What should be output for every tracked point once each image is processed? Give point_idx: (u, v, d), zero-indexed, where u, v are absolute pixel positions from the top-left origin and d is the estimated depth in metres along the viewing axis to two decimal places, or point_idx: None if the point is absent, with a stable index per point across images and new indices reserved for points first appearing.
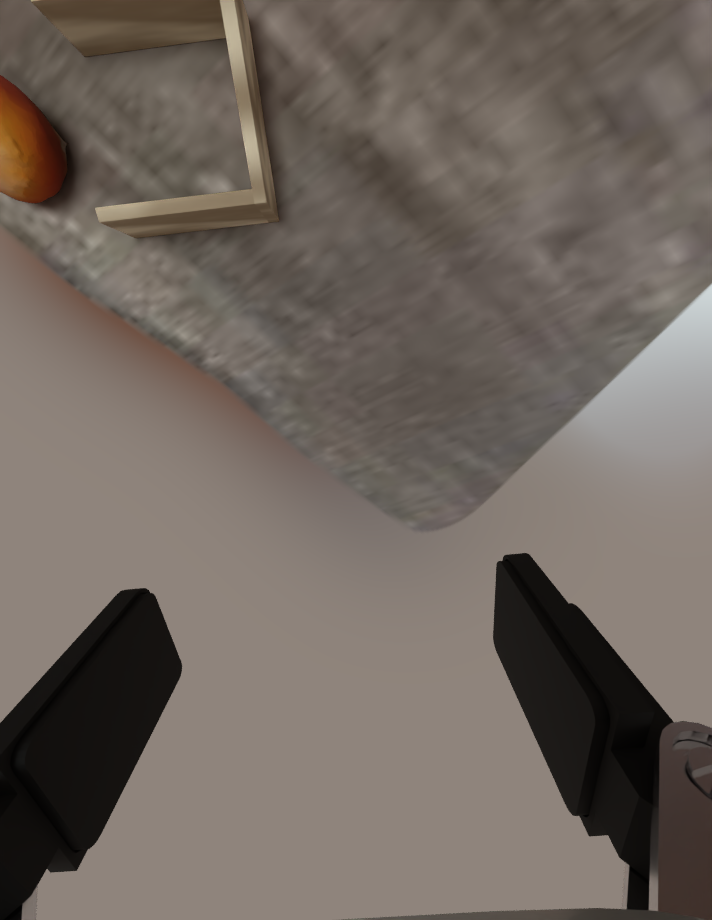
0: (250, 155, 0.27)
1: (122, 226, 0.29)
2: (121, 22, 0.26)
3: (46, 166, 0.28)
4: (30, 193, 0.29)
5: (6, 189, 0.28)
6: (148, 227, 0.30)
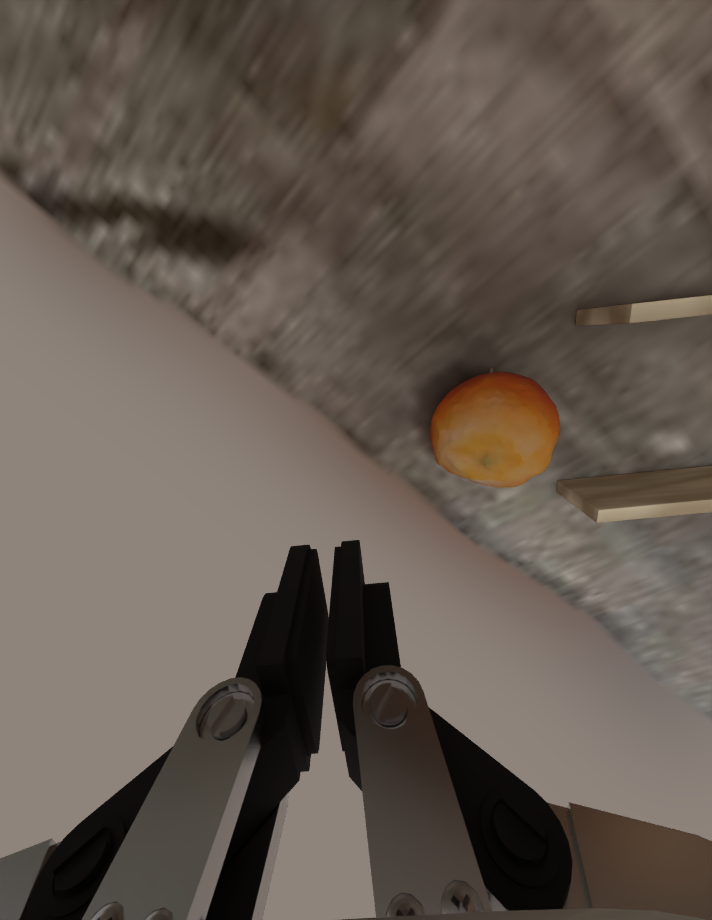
0: None
1: None
2: None
3: None
4: None
5: (488, 485, 0.24)
6: None
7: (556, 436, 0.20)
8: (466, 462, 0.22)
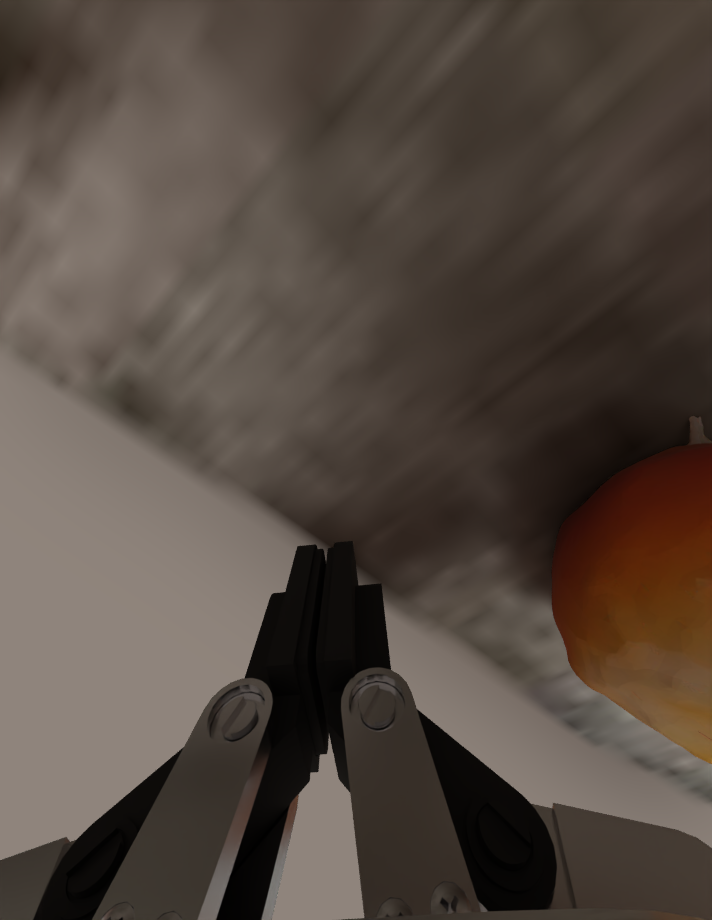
0: None
1: None
2: None
3: None
4: None
5: None
6: None
7: None
8: (711, 739, 0.07)
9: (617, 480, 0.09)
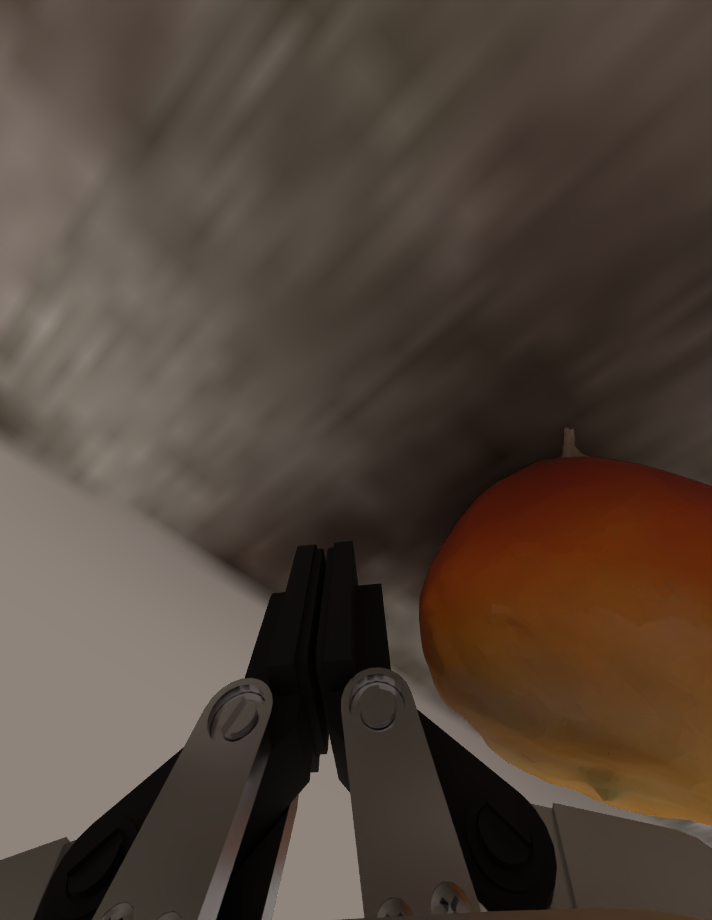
0: None
1: None
2: None
3: None
4: None
5: None
6: None
7: None
8: (532, 761, 0.07)
9: (480, 496, 0.09)
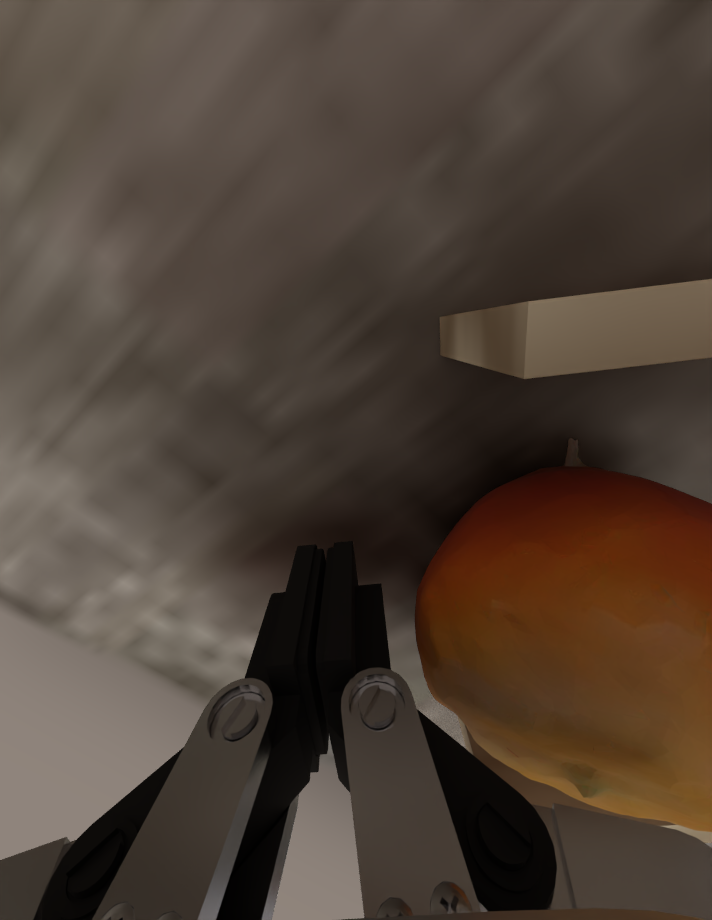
0: None
1: None
2: None
3: None
4: None
5: None
6: None
7: None
8: (517, 756, 0.07)
9: (483, 497, 0.09)
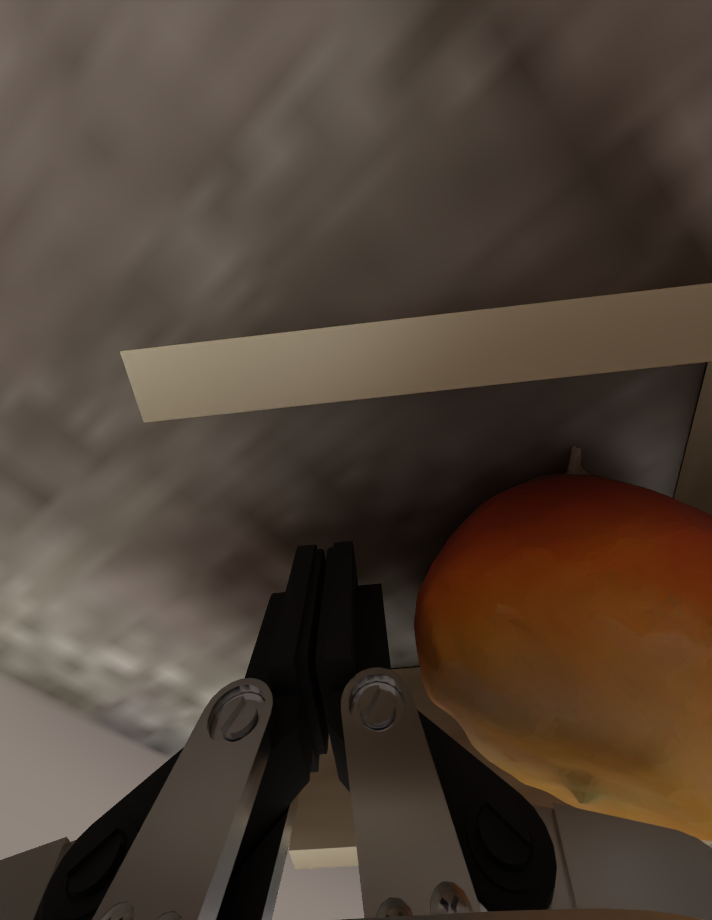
0: None
1: None
2: None
3: None
4: None
5: None
6: None
7: None
8: (514, 760, 0.07)
9: (487, 502, 0.09)
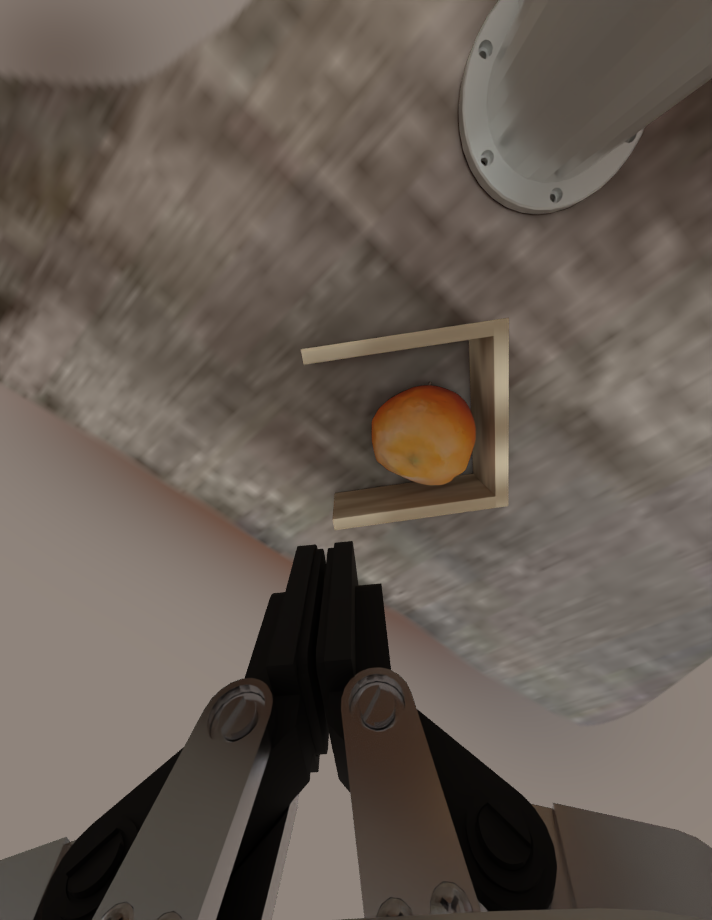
0: (499, 470, 0.26)
1: None
2: None
3: None
4: None
5: (420, 483, 0.27)
6: None
7: (470, 442, 0.24)
8: (397, 460, 0.25)
9: None
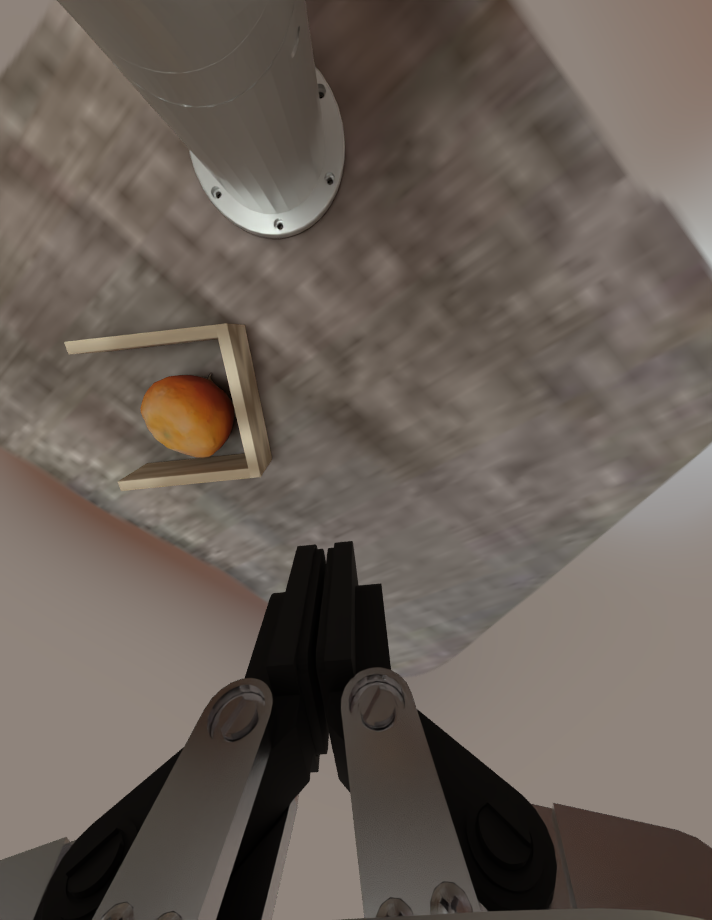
0: (247, 447, 0.32)
1: None
2: None
3: (226, 439, 0.33)
4: None
5: (190, 455, 0.33)
6: None
7: (205, 421, 0.30)
8: (158, 435, 0.31)
9: None
